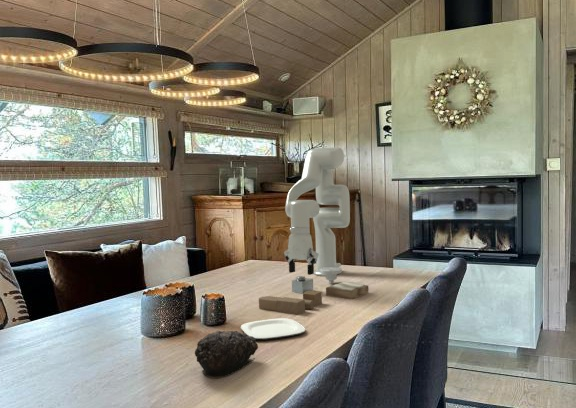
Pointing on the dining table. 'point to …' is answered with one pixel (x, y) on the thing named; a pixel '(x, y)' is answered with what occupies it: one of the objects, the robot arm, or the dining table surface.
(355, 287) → the stand
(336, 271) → the showerhead
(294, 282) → the housing
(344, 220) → the robot arm
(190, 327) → the dining table surface
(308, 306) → the wooden block set
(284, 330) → the plate
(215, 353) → the pine cone
